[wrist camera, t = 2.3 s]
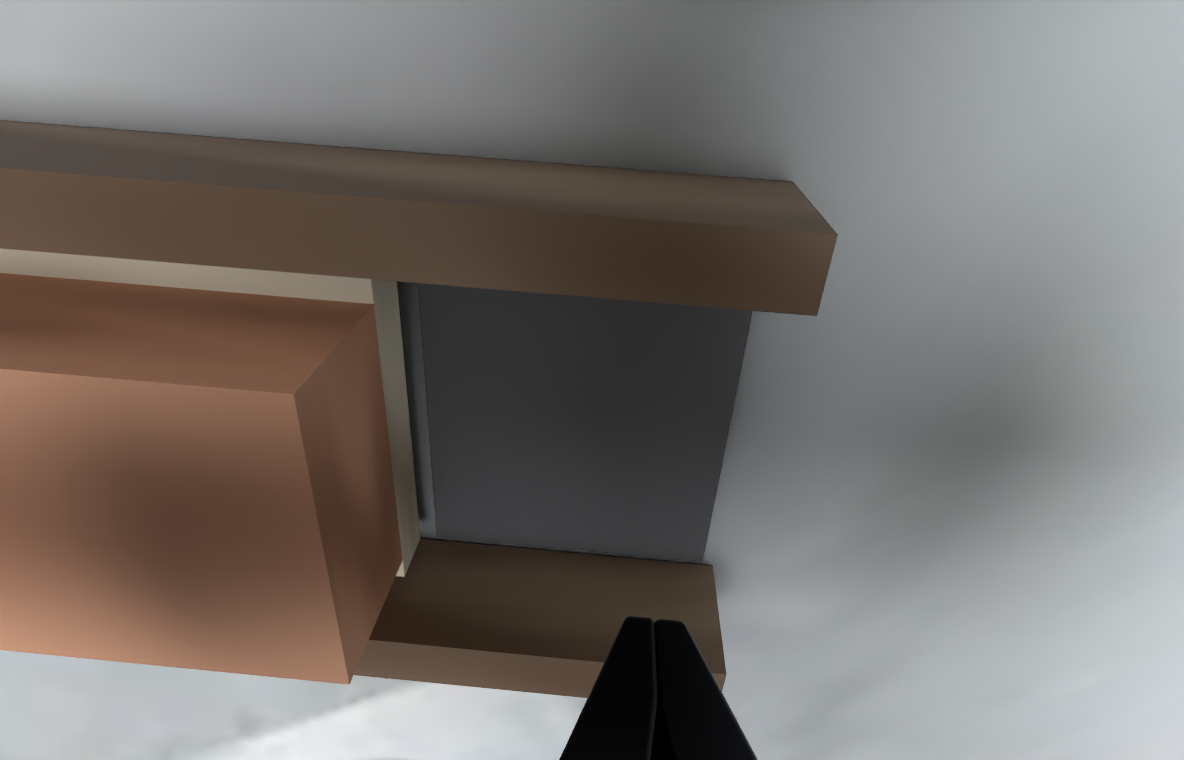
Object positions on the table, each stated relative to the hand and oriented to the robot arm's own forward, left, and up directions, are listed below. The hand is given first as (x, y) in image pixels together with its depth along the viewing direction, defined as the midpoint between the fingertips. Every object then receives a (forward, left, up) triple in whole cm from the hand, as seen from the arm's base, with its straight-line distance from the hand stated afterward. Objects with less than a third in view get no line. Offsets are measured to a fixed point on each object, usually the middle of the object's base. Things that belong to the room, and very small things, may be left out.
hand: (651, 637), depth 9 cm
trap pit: (0, +2, -5) cm, 6 cm away
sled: (0, +9, -6) cm, 10 cm away
